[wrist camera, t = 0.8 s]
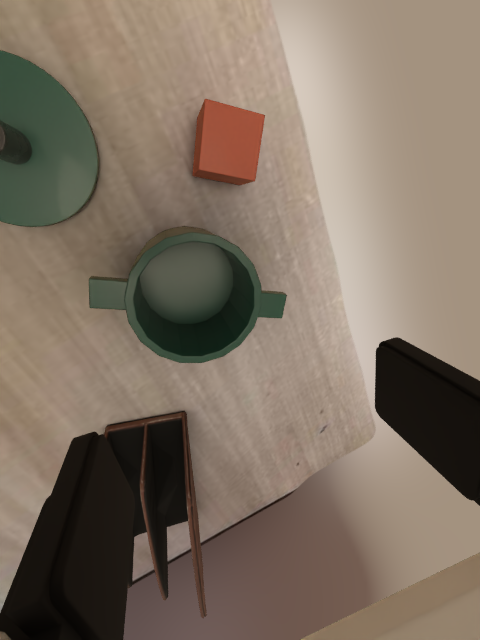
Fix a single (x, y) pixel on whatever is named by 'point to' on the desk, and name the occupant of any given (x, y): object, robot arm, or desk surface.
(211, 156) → the block
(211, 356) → the pot
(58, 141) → the lid
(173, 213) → the desk surface
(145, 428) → the letter holder
